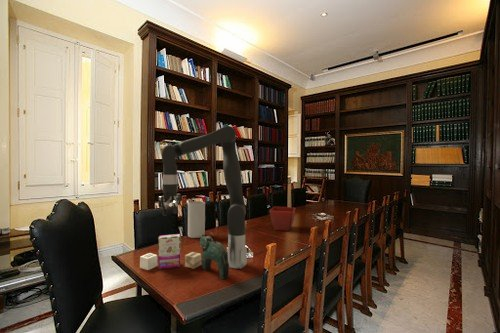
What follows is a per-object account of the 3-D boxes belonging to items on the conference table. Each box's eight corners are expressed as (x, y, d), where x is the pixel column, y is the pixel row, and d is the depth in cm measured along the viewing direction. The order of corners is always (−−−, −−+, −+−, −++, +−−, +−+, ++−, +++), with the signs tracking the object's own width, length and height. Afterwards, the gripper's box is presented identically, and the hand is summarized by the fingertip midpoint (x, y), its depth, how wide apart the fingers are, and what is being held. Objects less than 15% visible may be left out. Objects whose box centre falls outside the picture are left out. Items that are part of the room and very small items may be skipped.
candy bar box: (180, 263, 136) (180, 233, 135) (180, 267, 131) (180, 236, 130) (158, 265, 133) (159, 235, 132) (158, 269, 128) (158, 237, 127)
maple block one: (201, 264, 134) (201, 253, 134) (193, 269, 129) (193, 257, 129) (192, 262, 137) (192, 251, 137) (184, 266, 132) (184, 255, 132)
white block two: (157, 266, 132) (157, 254, 132) (147, 270, 127) (147, 258, 127) (149, 263, 135) (149, 252, 135) (139, 267, 130) (140, 256, 129)
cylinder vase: (202, 238, 180) (203, 204, 179) (185, 238, 180) (185, 203, 180) (206, 233, 192) (206, 201, 192) (190, 233, 193) (190, 201, 192)
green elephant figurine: (198, 268, 130) (198, 230, 129) (208, 264, 134) (208, 228, 134) (221, 281, 116) (222, 239, 115) (232, 277, 120) (232, 236, 120)
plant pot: (269, 230, 202) (269, 210, 202) (273, 225, 220) (273, 206, 220) (292, 232, 197) (292, 211, 196) (295, 226, 215) (295, 207, 215)
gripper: (164, 184, 123) (164, 218, 123) (185, 182, 135) (184, 212, 136) (154, 183, 126) (153, 216, 127) (175, 181, 139) (174, 211, 139)
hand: (170, 214), depth 131 cm, fingers open, 6 cm apart
